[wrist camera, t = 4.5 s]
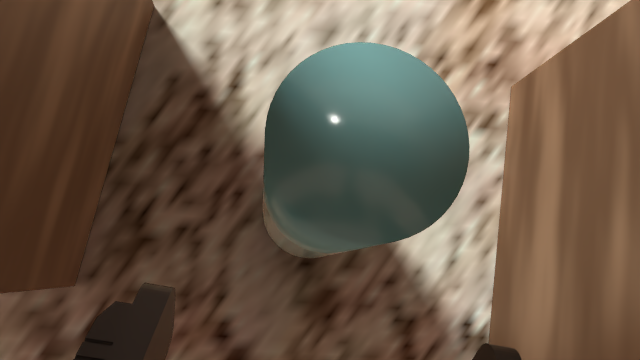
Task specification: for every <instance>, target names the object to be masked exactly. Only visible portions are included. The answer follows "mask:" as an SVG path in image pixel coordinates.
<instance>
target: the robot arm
mask: <svg viewBox="0 0 640 360" xmlns="http://www.w3.org/2000/svg"><path fill="white" fill-rule="evenodd" d="M174 309H175V288H172V287H166V286H160V285H155V284H149V283H144V284H143V285H142V286H141V288H140V290H139V292H138V294H137V296H136V298H135V300H134V302H133V304H128V303H123V302H117V301H115V302H114V303H113V304H112V305H111V306H110V307H108V308H107V309H106V310H105V311H104V312H103V313H101V314H100V315H99V316H98V317H97V318H96V320H95V322H94V323H93V325H92V327H91V329H90V331H89V332H88V334H87V336H86V338H85V341H84V342H83V343H82V345H81V347H80V348H79V350H78V352H77V354H76V357H75V359H73V360H165V357H166V354H167V352H168V349H169V345H170V342H171V338H172V333H173V326H174ZM472 360H522V359H521V357H520V355H519V353H518V351H517V350H516V349H514V348H510V347H505V346H499V345H493V344H487V343H485V344H483V345H482V346H481V347H480V349H479V350H478V352H477V353H476V355H475V356H474V358H473V359H472Z"/></svg>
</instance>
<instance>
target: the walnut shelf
mask: <svg viewBox="0 0 640 360" xmlns="http://www.w3.org/2000/svg"><path fill="white" fill-rule="evenodd" d="M153 9H154V4H153V2H152V0H0V293H8V292H19V291H29V290H39V289H50V288H60V287H70V286H75V283H76V279H77V276H78V272H79V269H80V265H81V262H82V258H83V255H84V251H85V248H86V244H87V241H88V237H89V234H90V230H91V227H92V223H93V220H94V216H95V213H96V209H97V206H98V202H99V199H100V195H101V191H102V188H103V184H104V181H105V177H106V174H107V170H108V167H109V163H110V160H111V156H112V153H113V149H114V146H115V142H116V139H117V135H118V132H119V128H120V125H121V121H122V118H123V114H124V111H125V107H126V104H127V100H128V96H129V93H130V89H131V86H132V82H133V79H134V75H135V72H136V68H137V65H138V61H139V58H140V54H141V51H142V47H143V44H144V40H145V37H146V33H147V30H148V26H149V23H150V19H151V16H152V12H153ZM489 344H493V345H499V346H505V347H510V348H514V349H516V350H517V351H518V353H519V355H520V357H521V359H522V360H640V0H631V1H629V2H628V3H627V4H625V5H624V6H622V7H621V8H620V9H618V10H617V11H615V12H614V13H613V14H611V15H610V16H609V17H607V18H606V19H604V20H603V21H602V22H600V23H599V24H598V25H596V26H595V27H593V28H592V29H591V30H589V31H588V32H586V33H585V34H584V35H582V36H581V37H580V38H578V39H577V40H575V41H574V42H573V43H571V44H570V45H568V46H567V47H566V48H564V49H563V50H562V51H560V52H559V53H557V54H556V55H555V56H553V57H552V58H551V59H549V60H548V61H546V62H545V63H544V64H542V65H541V66H539V67H538V68H537V69H535V70H534V71H533V72H531V73H530V74H528V75H527V76H526V77H524V78H523V79H522V80H520V81H519V82H517V83H516V84H515V85H513V86H512V87H511V96H510V107H509V118H508V130H507V141H506V152H505V164H504V175H503V186H502V198H501V209H500V220H499V232H498V243H497V254H496V266H495V277H494V288H493V300H492V311H491V322H490V334H489Z"/></svg>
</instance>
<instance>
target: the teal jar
mask: <svg viewBox="0 0 640 360" xmlns="http://www.w3.org/2000/svg"><path fill="white" fill-rule="evenodd" d="M468 161H469V137H468V131H467V126H466V122H465V119H464V116H463V113H462V110H461V108H460V106H459V104H458V102H457V100H456V98H455V96H454V95H453V93H452V92H451V90H450V89H449V87H448V86H447V85H446V83H445V82H444V81H443V80H442V79H441V77H440V76H439V75H438V74H436V73H435V72H434V71H433V70H432V69H431V68H430V67H429V66H427V65H426V64H425V63H423V62H422V61H421V60H419V59H417V58H415V57H414V56H412V55H410V54H408V53H406V52H404V51H401V50H399V49H397V48H393V47H390V46H386V45H382V44H376V43H363V42H357V43H346V44H341V45H336V46H332V47H330V48H327V49H324V50H321V51H319V52H317V53H315V54H313V55H311V56H310V57H308V58H307V59H305V60H304V61H302V62H301V63H300V64H299V65H298V66H296V67H295V68H294V69H293V70H292V71H291V72H290V73H289V74H288V76H287V77H286V78H285V79H284V80H283V82H282V83H281V85H280V86H279V88H278V90H277V91H276V93H275V95H274V98H273V100H272V102H271V104H270V108H269V111H268V115H267V120H266V127H265V148H264V181H263V220H264V224H265V227H266V229H267V232H268V234H269V235H270V237H271V238H272V240H273V241H274V242H275V243H276V244H277V245H278V246H279V247H280V248H281V249H283V250H284V251H286V252H288V253H289V254H292V255H294V256H297V257H301V258H318V257H323V256H328V255H333V254H338V253H342V252H347V251H352V250H357V249H362V248H366V247H371V246H376V245H381V244H386V243H390V242H395V241H399V240H402V239H405V238H409V237H411V236H413V235H415V234H417V233H419V232H421V231H423V230H424V229H426V228H428V227H429V226H431V225H432V224H433V223H434V222H436V221H437V220H438V219H439V218H440V217H441V216H442V215H443V214H444V213H445V212H446V211H447V210H448V209H449V207H450V206H451V205H452V203H453V202H454V200H455V199H456V197H457V195H458V193H459V191H460V189H461V187H462V185H463V182H464V179H465V176H466V172H467V167H468Z"/></svg>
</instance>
